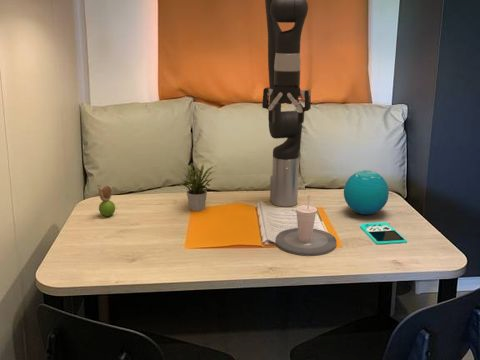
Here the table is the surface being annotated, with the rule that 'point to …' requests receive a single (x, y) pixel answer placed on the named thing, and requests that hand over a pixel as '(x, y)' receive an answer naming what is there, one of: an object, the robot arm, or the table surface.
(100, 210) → the snail figurine
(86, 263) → the table surface
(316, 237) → the dish
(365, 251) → the table surface
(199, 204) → the house plant
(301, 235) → the smoothie
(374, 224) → the handheld game console
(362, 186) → the decorative orb
